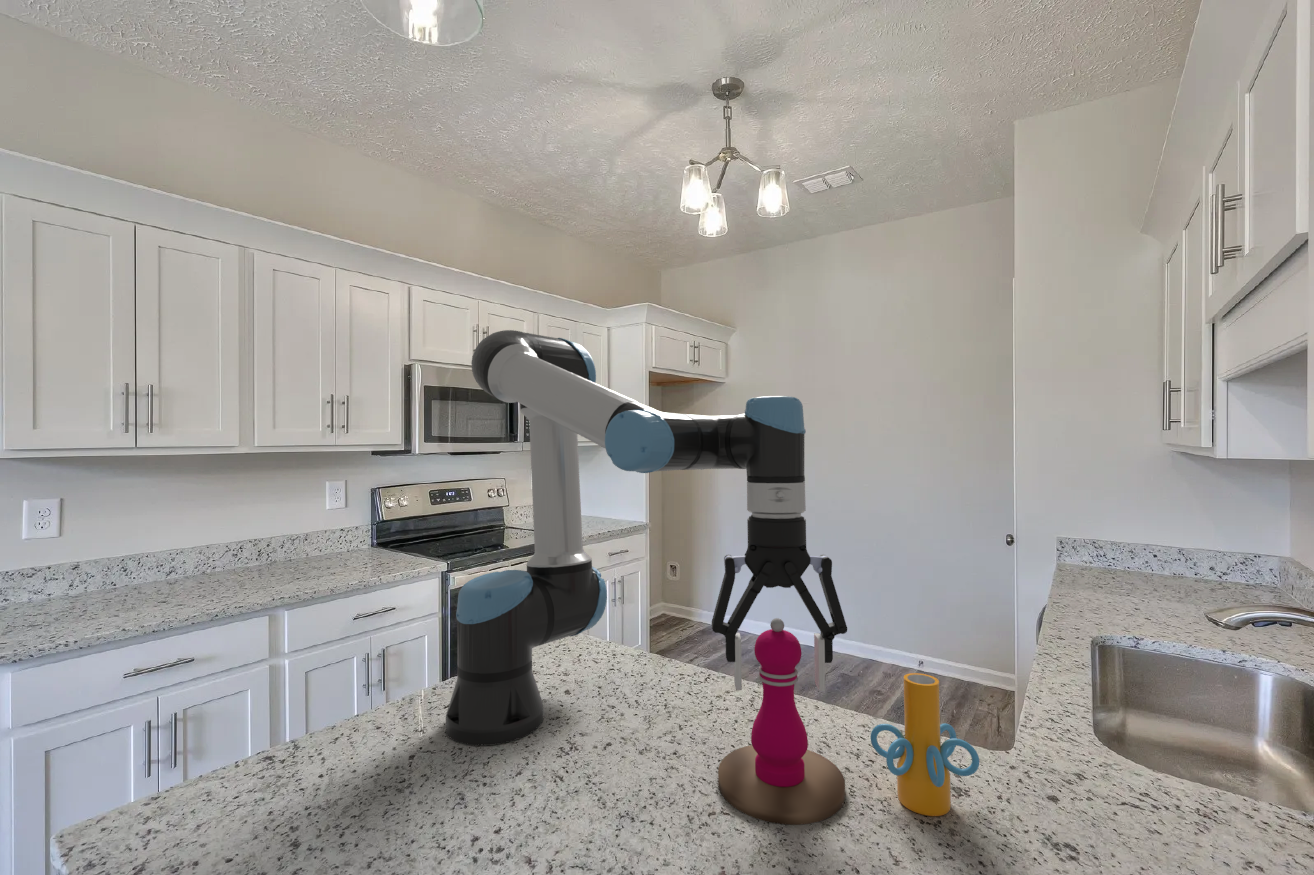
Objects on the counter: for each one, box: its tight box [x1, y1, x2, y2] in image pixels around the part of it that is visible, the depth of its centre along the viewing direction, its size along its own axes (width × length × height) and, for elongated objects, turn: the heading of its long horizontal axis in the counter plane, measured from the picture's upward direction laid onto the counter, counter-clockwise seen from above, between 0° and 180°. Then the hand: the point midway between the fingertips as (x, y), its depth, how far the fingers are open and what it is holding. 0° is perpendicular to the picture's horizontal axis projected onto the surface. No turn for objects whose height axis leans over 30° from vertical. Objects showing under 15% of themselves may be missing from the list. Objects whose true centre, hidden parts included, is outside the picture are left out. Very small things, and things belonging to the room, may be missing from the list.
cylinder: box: [870, 672, 980, 817], centre depth 72 cm, size 12×10×15 cm
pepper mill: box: [750, 617, 809, 787], centre depth 76 cm, size 7×7×20 cm
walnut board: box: [717, 744, 846, 826], centre depth 76 cm, size 16×16×2 cm
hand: (778, 686), depth 76 cm, fingers open, 10 cm apart
